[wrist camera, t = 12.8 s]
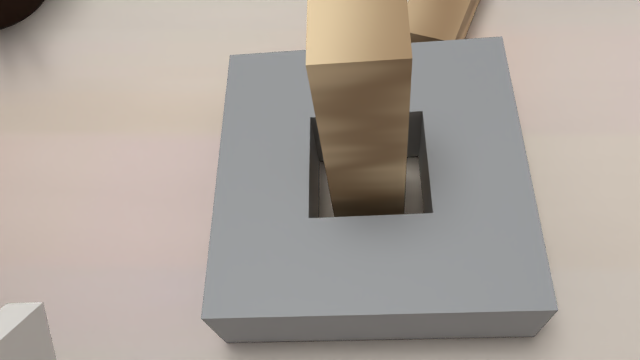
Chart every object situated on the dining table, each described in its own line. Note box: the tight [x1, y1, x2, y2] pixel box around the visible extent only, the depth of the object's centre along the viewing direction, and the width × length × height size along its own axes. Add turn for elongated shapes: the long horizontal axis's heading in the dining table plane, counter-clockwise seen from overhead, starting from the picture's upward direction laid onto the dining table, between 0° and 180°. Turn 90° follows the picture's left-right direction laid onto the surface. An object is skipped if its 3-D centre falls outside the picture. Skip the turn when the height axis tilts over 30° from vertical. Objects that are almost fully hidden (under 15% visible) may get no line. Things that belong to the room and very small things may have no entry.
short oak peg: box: [407, 0, 480, 43], centre depth 29 cm, size 3×6×3 cm, turn 157°
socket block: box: [201, 37, 558, 343], centre depth 23 cm, size 12×12×4 cm
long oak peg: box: [306, 0, 412, 217], centre depth 20 cm, size 3×3×11 cm
